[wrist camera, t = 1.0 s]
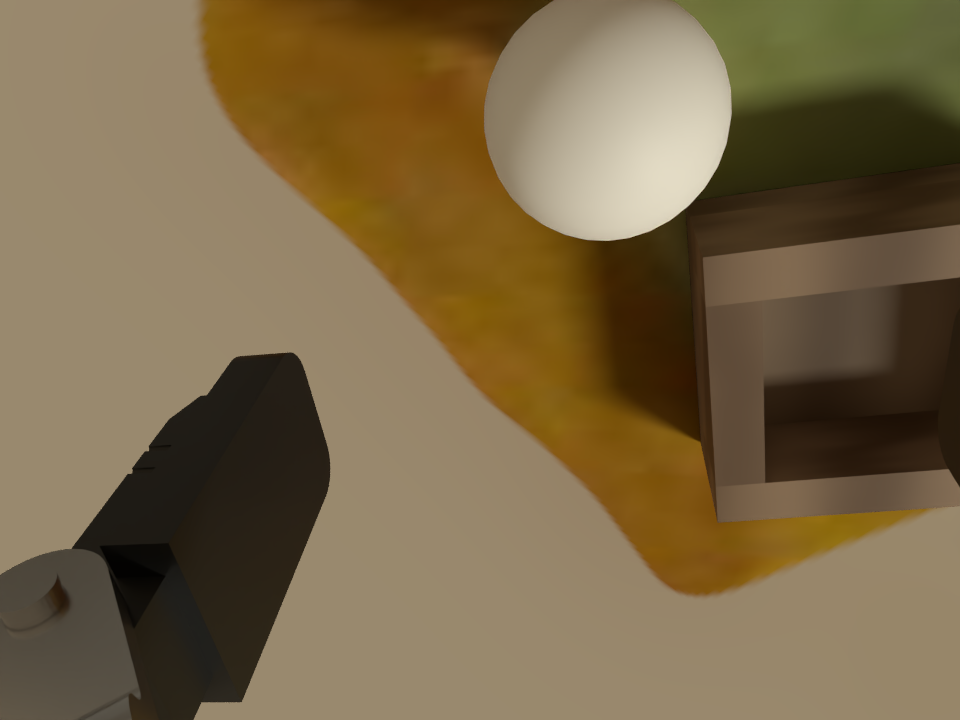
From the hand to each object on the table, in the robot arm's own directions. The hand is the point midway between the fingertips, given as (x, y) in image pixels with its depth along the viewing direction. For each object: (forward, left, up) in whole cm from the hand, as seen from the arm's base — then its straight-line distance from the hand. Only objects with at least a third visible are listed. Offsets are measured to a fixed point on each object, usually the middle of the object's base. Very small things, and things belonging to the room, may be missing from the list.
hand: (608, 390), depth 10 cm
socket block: (-8, +11, -20) cm, 24 cm away
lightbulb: (0, 0, -20) cm, 20 cm away
